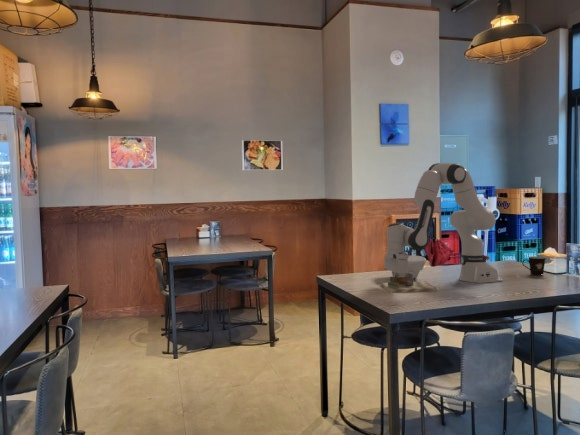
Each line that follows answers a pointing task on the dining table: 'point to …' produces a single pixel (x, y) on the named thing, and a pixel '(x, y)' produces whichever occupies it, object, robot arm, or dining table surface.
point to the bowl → (415, 265)
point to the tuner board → (408, 287)
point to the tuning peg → (403, 279)
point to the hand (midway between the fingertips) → (395, 280)
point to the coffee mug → (536, 265)
